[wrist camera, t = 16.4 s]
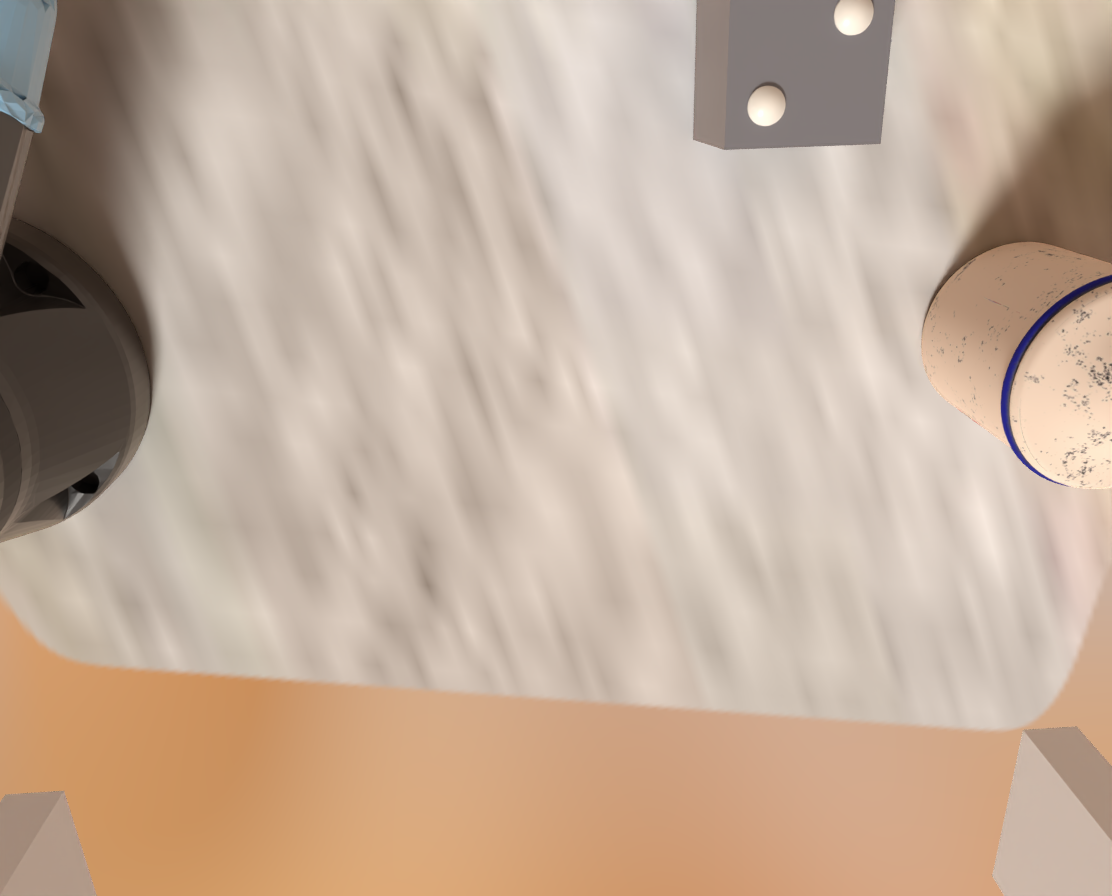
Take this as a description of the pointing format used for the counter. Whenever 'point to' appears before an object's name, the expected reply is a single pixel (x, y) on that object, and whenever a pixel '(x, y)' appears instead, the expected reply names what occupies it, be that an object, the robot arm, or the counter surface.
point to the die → (791, 72)
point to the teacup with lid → (1030, 356)
